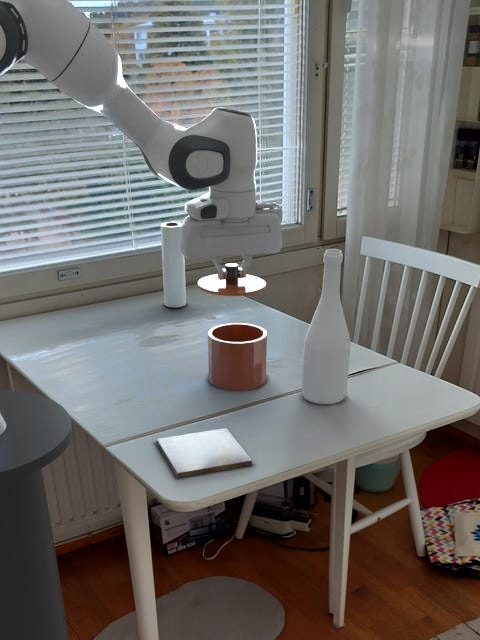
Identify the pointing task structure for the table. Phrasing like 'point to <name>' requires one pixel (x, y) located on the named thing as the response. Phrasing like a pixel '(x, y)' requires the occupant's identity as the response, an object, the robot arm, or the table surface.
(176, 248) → the paper towel roll
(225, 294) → the canister lid
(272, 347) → the table surface
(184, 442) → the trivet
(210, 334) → the canister
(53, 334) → the table surface
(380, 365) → the table surface
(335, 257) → the wine bottle
